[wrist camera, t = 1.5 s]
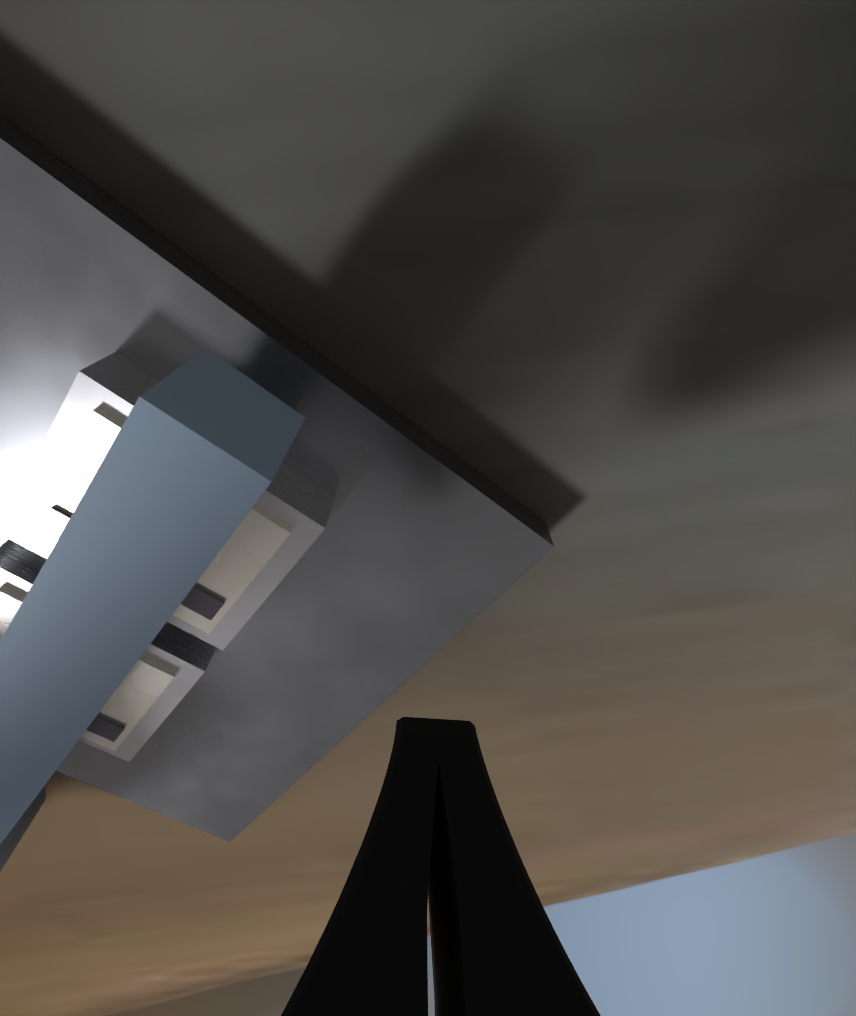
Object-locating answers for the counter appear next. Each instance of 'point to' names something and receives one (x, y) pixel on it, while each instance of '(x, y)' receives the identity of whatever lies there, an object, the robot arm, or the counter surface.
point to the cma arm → (129, 562)
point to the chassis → (263, 532)
